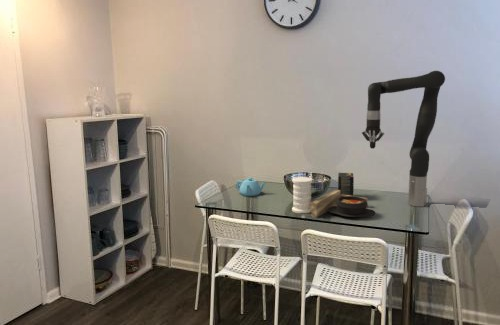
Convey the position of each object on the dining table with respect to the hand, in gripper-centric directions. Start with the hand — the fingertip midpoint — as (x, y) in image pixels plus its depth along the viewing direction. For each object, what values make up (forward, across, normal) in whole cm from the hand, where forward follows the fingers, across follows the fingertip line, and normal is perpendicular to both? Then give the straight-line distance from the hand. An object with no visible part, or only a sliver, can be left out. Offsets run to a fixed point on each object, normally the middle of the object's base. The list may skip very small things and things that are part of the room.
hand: (372, 148), depth 239 cm
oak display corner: (+32, +7, +27) cm, 42 cm away
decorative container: (+32, +26, +36) cm, 55 cm away
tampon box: (+32, +16, 0) cm, 36 cm away
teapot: (+32, +71, +24) cm, 82 cm away
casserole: (+32, 0, +28) cm, 43 cm away
